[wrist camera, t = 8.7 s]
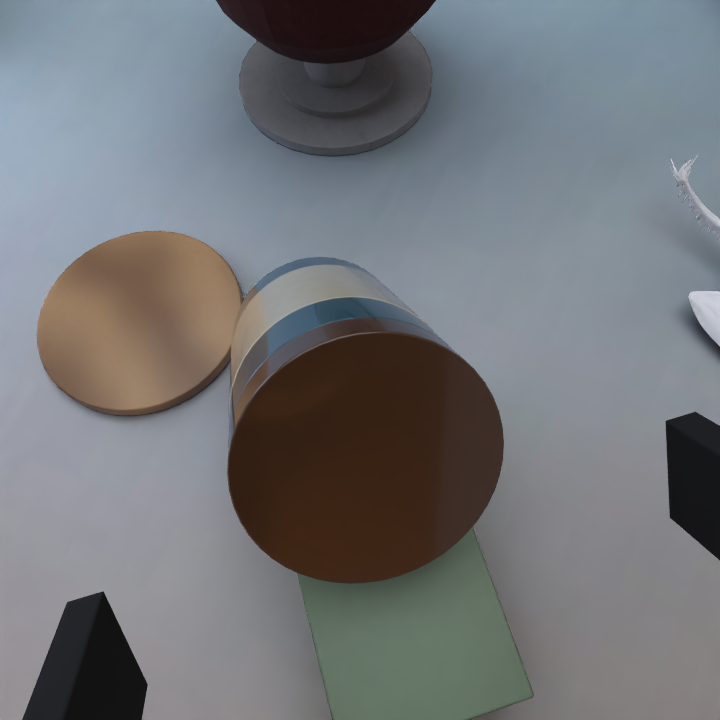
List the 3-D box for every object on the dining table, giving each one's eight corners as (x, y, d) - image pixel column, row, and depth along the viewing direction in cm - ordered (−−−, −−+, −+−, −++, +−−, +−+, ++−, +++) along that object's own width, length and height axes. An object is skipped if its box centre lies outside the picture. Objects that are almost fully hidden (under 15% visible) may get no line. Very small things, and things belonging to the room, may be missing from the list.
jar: (479, 566, 27) (573, 500, 14) (302, 623, 26) (230, 607, 13) (383, 300, 33) (387, 81, 20) (235, 340, 32) (140, 138, 19)
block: (500, 684, 25) (535, 697, 20) (350, 735, 24) (342, 763, 19) (442, 517, 28) (458, 487, 22) (306, 559, 27) (289, 539, 22)
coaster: (153, 456, 29) (147, 451, 29) (1, 348, 32) (-8, 341, 31) (284, 295, 33) (282, 287, 32) (137, 209, 35) (132, 201, 35)
